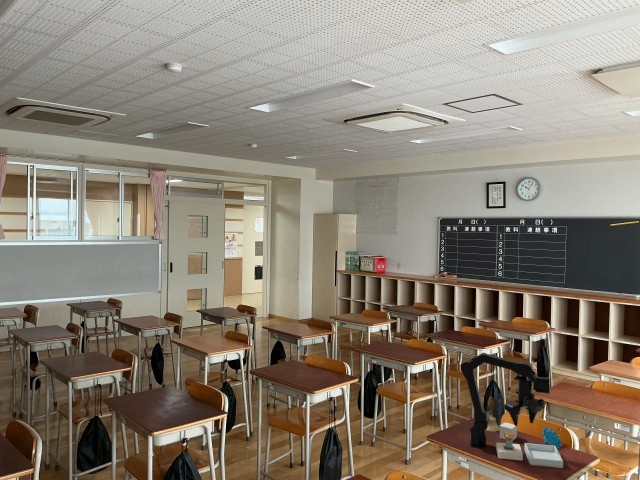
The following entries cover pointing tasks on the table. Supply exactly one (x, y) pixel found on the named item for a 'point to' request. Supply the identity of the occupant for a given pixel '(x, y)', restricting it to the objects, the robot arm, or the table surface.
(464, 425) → the table surface
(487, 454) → the table surface
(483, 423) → the robot arm
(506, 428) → the white cube
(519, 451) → the white square hole block
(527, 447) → the parts tray
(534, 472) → the table surface
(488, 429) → the hand bell
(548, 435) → the gear
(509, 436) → the lock pin
